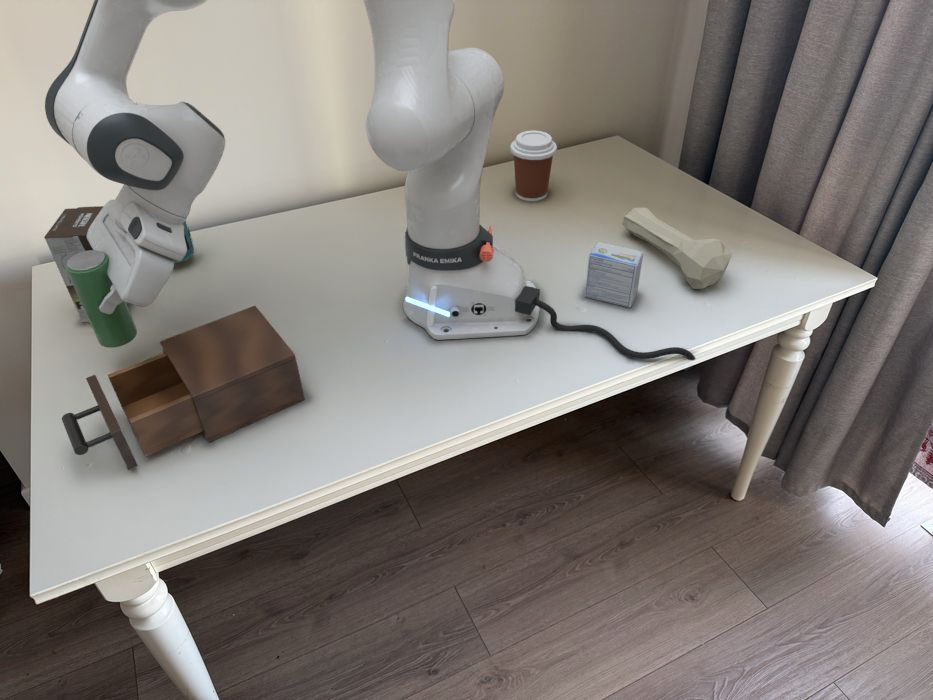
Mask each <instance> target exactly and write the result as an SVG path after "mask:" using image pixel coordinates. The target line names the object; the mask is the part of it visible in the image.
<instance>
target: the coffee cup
mask: <svg viewBox="0 0 933 700" xmlns="http://www.w3.org/2000/svg"><path fill="white" fill-rule="evenodd" d="M509 147H510V148H509V149H510V153H511V154H512V155H513V165H514V183H515V196H516V197H517V198H518V199H520V200H522V201H526V202H538V201H542V200H544V199H545V198H546V197H547V195H548V190H549V185H550V184H549V183H550V177H551V170H552V164H553V158H554V156H555V155H556V153H557V151H558V146H557V143H556V142H555V141H553V137H552V135H550V134H549V133H548V132H545V131H542V130H535V129H534V130H525V131H522V132H520V133H518V134H517V135H516V136H515V139H514V140H512V142H511V144H510V146H509Z"/></svg>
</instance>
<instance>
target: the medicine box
mask: <svg viewBox="0 0 933 700" xmlns="http://www.w3.org/2000/svg"><path fill="white" fill-rule="evenodd" d="M643 259H644V252H643V251H642V250H637V249H632V248H628V247H624V246H619V245H615V244H610V243H605V242H601V241H597V242H596V244H595V245H594V246H593V248H592V249H591V252H590V253H589V254H588V263H587V272H586V281H585V289H584V290H585V291H584V298H588V299H592V300H596V301H600V302H603V303H609V304H613V305H616V306H621V307H624V308H628V309H631V307H632V305H633V304H634V301H635V299H636V297H637V295H638V290H639V285H640V279H641V271H642V264H643Z"/></svg>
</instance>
